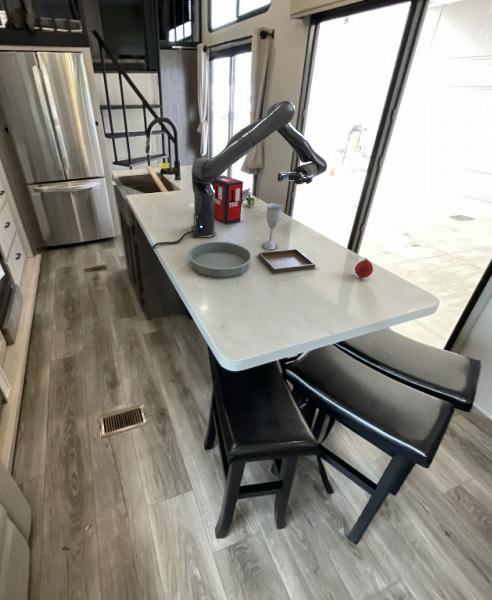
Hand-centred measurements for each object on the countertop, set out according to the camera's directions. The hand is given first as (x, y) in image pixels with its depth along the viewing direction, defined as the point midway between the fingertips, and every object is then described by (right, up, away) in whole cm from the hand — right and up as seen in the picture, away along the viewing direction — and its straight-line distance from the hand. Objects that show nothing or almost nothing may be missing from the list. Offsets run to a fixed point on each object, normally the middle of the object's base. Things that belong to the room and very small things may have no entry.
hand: (288, 180), depth 132 cm
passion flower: (-11, +7, +59) cm, 60 cm away
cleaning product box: (-25, -6, +38) cm, 46 cm away
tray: (-3, -35, -6) cm, 36 cm away
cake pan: (-29, -36, -8) cm, 47 cm away
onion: (+22, -42, -16) cm, 50 cm away
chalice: (-7, -27, +7) cm, 28 cm away
